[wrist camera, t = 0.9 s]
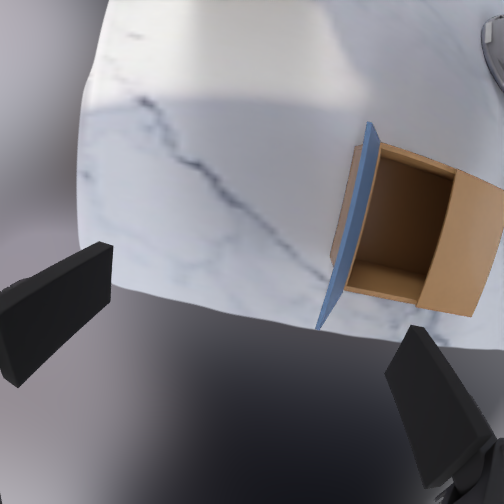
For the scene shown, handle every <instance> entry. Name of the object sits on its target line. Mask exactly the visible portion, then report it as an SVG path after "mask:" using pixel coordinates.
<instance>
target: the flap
mask: <svg viewBox="0 0 504 504" xmlns="http://www.w3.org/2000/svg"><path fill="white" fill-rule="evenodd" d="M379 147H380V140H379V137H378V135H377V133H376V130H375V128H374V126H373V124H372V122H367V125H366V131H365V136H364V142H363V147H362V152H361V157H360V162H359V167H358V172H357V176H356V181H355V186H354V190H353V195H352V199H351V203H350V207H349V212H348V216H347V220H346V224H345V228H344V232H343V236H342V239H341V243H340V247H339V251H338V254H337V258H336V262H335V265H334V269H333V272H332V276H331V279H330V283H329V286H328V289H327V293H326V296H325V299H324V302H323V306H322V309H321V312H320V315H319V318H318V321H317V324H316V327H315V329H317V330H320V328H321V327H322V325H323V324H324V322H325V320H326V319H327V317H328V316H329V314H330V312H331V311H332V309H333V307H334V306H335V304H336V303H337V301H338V299H339V298H340V296H341V294H342V293H343V289H344V286H345V283H346V280H347V277H348V273H349V270H350V267H351V263H352V260H353V256H354V253H355V249H356V246H357V242H358V238H359V235H360V231H361V227H362V223H363V219H364V215H365V211H366V207H367V203H368V199H369V195H370V190H371V186H372V181H373V177H374V172H375V167H376V163H377V158H378V152H379Z"/></svg>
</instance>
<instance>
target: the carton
mask: <svg viewBox="0 0 504 504" xmlns="http://www.w3.org/2000/svg"><path fill="white" fill-rule="evenodd" d="M362 147H363V145H359V146H355V148H354V154H353V159H352V164H351V168H350V173H349V178H348V182H347V187H346V192H345V196H344V200H343V205H342V209H341V213H340V217H339V221H338V225H337V230H336V233H335V237H334V241H333V245H332V249H331V253H330V258H331V261H332V265H333V268H334V265H335V262H336V258H337V254H338V251H339V247H340V243H341V239H342V236H343V232H344V228H345V224H346V220H347V216H348V212H349V207H350V203H351V199H352V195H353V190H354V186H355V181H356V176H357V172H358V167H359V162H360V157H361V152H362ZM503 228H504V190H502V189H500V188H498V187H496V186H494V185H492V184H490V183H488V182H486V181H484V180H481V179H479V178H477V177H475V176H472V175H470V174H468V173H466V172H463V171H461V170H459V169H455V168H452V167H450V166H447V165H445V164H442V163H440V162H437V161H434V160H432V159H429V158H426V157H424V156H421V155H418V154H415V153H412V152H409V151H406V150H403V149H400V148H397V147H394V146H391V145H388V144H385V143H381V142H380V147H379V152H378V158H377V163H376V167H375V172H374V177H373V181H372V186H371V190H370V195H369V199H368V203H367V207H366V211H365V215H364V219H363V223H362V227H361V231H360V235H359V238H358V242H357V246H356V249H355V253H354V256H353V260H352V263H351V267H350V270H349V273H348V277H347V280H346V283H345V286H344V289H343V290H345V291H350V292H355V293H360V294H365V295H370V296H375V297H380V298H385V299H390V300H395V301H400V302H405V303H410V304H415V306H416V307H418V308H423V309H428V310H434V311H439V312H445V313H450V314H456V315H461V316H467V317H472V315H473V313H474V310H475V308H476V306H477V303H478V301H479V299H480V296H481V294H482V291H483V289H484V286H485V284H486V281H487V278H488V276H489V273H490V270H491V267H492V264H493V261H494V258H495V255H496V252H497V249H498V246H499V243H500V239H501V236H502V232H503Z"/></svg>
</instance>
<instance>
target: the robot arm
mask: <svg viewBox="0 0 504 504" xmlns="http://www.w3.org/2000/svg"><path fill="white" fill-rule="evenodd" d="M481 41H482V48H483V52H484V56H485V59H486V62H487V64H488V67H489V69H490V71H491V73H492V75H493V77H494V79H495V80H496V82H497V84H498V85H499V87H500V88H501V90H502V91H503V93H504V15H499V16H495V17H493V18H491V19H490V20H488V21H487V22H486V23H485V24H484V26H483V28H482V33H481ZM112 259H113V246H112V245H109V244H106V243H103V242H100V241H99V242H97V243H95V244H93V245H91V246H89V247H87V248H85V249H83V250H81V251H79V252H77V253H75V254H73V255H71V256H69V257H67V258H66V259H64V260H62V261H60V262H58V263H56V264H54V265H52V266H50V267H48V268H47V269H45V270H43V271H41V272H40V273H38V274H36V275H34V276H32V277H29V278H26V279H22V280H19V281H17V282H15V283H14V284H12V285H10V287H7V288H5V289H3V290H2V292H1V291H0V370H1V373H2V375H3V377H4V378H5V379H6V380H7V381H9V382H10V383H11V384H13V385H14V386H15V387H17V388H19V387H20V386H21V385H22V384H23V383H24V382H25V381H26V380H27V379H28V378H29V377H30V376H31V375H32V374H33V373H34V372H35V371H36V370H37V369H38V368H39V367H40V366H41V365H42V364H43V363H44V362H45V361H46V360H47V359H48V358H49V357H51V356H52V355H53V354H54V353H55V352H56V351H57V350H58V349H59V348H60V347H61V346H62V345H63V344H64V343H65V342H66V341H68V340H69V339H70V338H71V337H72V336H73V335H74V334H75V333H76V332H77V331H78V330H79V329H81V328H82V327H83V326H84V325H85V324H86V323H87V322H88V321H89V320H91V319H92V318H93V317H94V316H95V315H96V314H97V313H98V312H99V311H101V310H102V309H103V308H104V307H105V306H106V305H107V304H109V303H110V298H111V274H112ZM385 376H386V379H387V381H388V384H389V387H390V389H391V392H392V394H393V397H394V400H395V402H396V405H397V408H398V411H399V413H400V416H401V419H402V421H403V424H404V427H405V430H406V433H407V436H408V439H409V442H410V445H411V448H412V451H413V454H414V457H415V460H416V464H417V467H418V470H419V473H420V477H421V480H422V483H423V487H424V489H428V488H434V487H440V486H441V485H443V484H444V483H445V482H446V481H447V480H448V479H449V478H451V477H452V478H453V481H454V483H453V484H451V485H450V486H449V487H448V488H447V489H446V490H444V491H443V492H442V493H441V494H439V495H438V496H437V497H436V498H435V500H434V501H435V502H436V501H437V500H439V499H440V498H441V497H444V499H443V500H442V501H441V502H439V504H504V438H499V439H498V440H497V438H496V437H495V435H494V433H493V431H492V429H491V428H490V426H489V424H488V422H487V420H486V419H485V417H484V415H482V412H481V411H480V409H479V407H477V406H478V405H477V404H476V402H475V401H474V399H473V397H472V396H471V395H470V394H469V393H468V392H467V390H466V389H465V387H464V385H463V384H462V382H461V381H460V379H459V378H458V376H457V375H456V373H455V371H454V370H453V368H452V367H451V365H450V364H449V363H448V361H447V360H446V358H445V357H444V355H443V354H442V352H441V351H440V350H439V348H438V347H437V345H436V344H435V342H434V341H433V339H432V338H431V337H430V335H429V334H428V332H427V331H426V330H425V328H424V327H419V326H414V325H410V327H409V329H408V331H407V333H406V335H405V337H404V339H403V341H402V343H401V345H400V347H399V348H398V350H397V352H396V354H395V356H394V358H393V360H392V361H391V363H390V365H389V366H388V368H387V370H386V372H385ZM0 504H2V501H1V495H0Z"/></svg>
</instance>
